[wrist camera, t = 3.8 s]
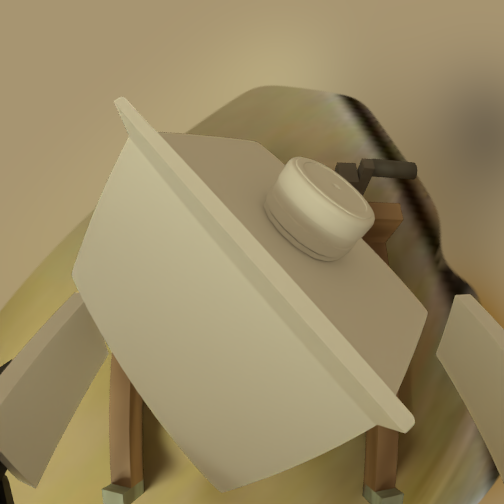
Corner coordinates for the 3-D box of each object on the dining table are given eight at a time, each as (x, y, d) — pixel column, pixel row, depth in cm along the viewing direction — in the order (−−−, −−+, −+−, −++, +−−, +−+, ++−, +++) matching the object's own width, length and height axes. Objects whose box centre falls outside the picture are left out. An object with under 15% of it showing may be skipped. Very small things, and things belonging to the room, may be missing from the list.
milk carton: (246, 420, 20) (183, 582, 2) (183, 342, 22) (-22, 207, 4) (325, 356, 21) (529, 251, 4) (260, 282, 23) (259, 30, 6)
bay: (125, 488, 17) (47, 537, 7) (140, 233, 25) (83, 150, 15) (381, 492, 17) (453, 546, 7) (371, 232, 25) (424, 147, 15)
